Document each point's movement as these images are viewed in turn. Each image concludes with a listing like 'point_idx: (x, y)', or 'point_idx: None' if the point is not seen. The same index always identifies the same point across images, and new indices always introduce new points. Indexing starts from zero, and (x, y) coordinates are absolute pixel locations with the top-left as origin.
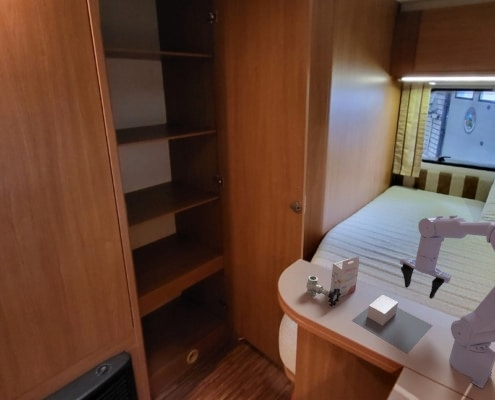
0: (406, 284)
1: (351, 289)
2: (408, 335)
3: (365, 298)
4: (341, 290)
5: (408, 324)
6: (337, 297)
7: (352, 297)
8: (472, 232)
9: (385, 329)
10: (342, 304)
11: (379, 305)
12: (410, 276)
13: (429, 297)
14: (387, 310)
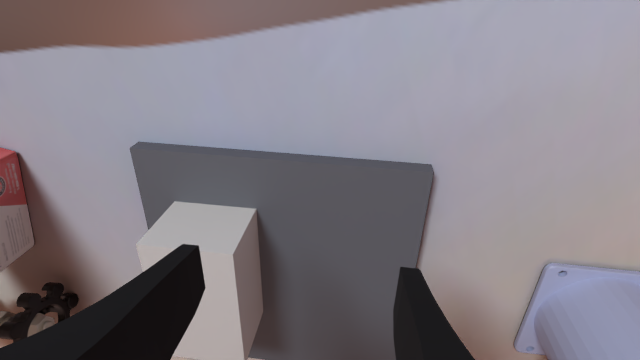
0: (186, 320)
1: (7, 189)
2: (364, 303)
3: (91, 172)
4: (5, 260)
5: (336, 244)
6: (44, 306)
7: (59, 207)
8: None
9: (283, 322)
10: (83, 274)
11: (192, 331)
12: (140, 333)
13: (394, 315)
14: (238, 341)
